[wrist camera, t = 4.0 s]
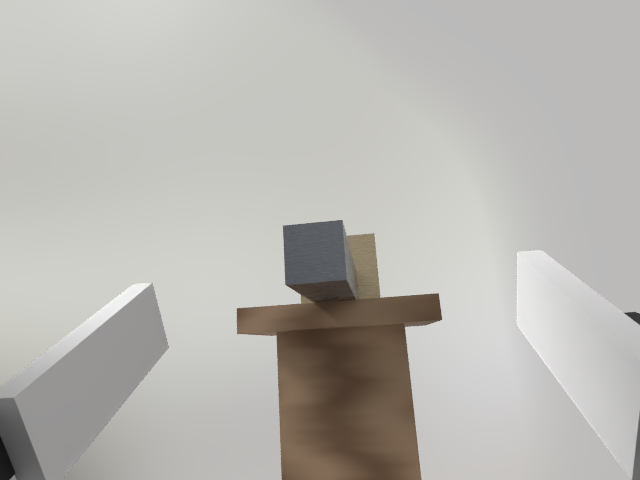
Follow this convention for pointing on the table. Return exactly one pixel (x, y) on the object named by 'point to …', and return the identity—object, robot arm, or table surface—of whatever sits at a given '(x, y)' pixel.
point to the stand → (345, 385)
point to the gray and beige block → (330, 263)
